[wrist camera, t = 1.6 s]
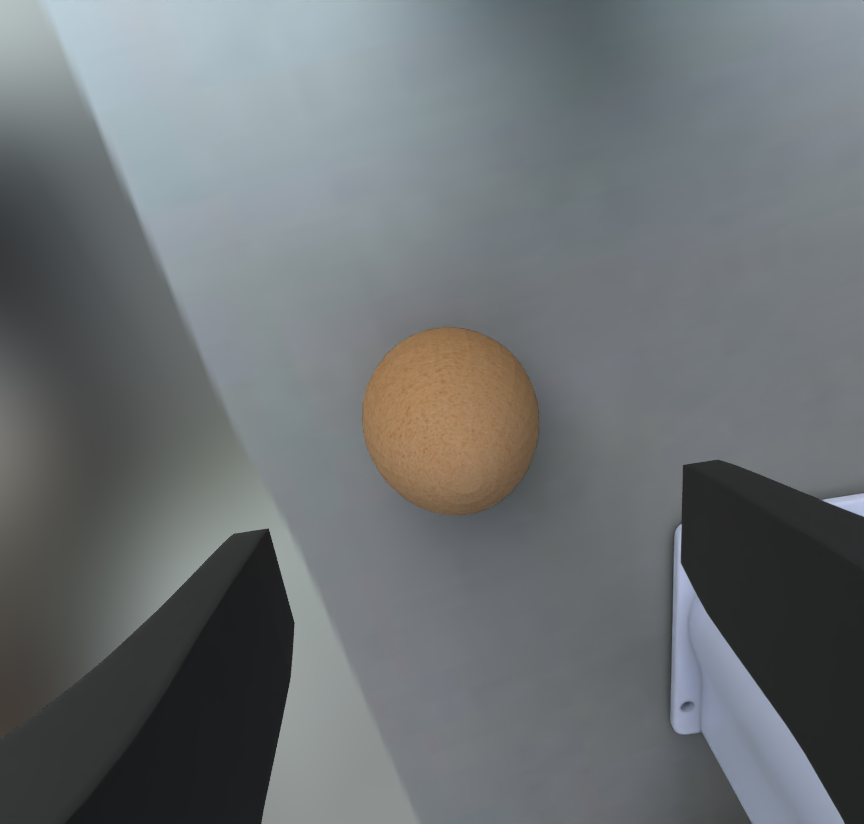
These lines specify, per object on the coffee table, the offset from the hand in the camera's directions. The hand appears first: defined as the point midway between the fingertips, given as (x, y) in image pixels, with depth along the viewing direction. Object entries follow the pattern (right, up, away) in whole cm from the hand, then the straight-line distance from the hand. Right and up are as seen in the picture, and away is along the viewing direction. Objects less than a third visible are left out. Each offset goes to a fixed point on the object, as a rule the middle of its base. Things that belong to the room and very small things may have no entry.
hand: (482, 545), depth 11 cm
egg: (-1, +3, +8) cm, 9 cm away
